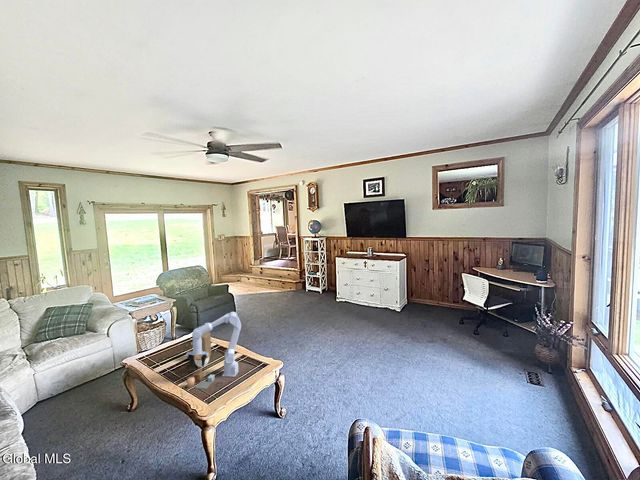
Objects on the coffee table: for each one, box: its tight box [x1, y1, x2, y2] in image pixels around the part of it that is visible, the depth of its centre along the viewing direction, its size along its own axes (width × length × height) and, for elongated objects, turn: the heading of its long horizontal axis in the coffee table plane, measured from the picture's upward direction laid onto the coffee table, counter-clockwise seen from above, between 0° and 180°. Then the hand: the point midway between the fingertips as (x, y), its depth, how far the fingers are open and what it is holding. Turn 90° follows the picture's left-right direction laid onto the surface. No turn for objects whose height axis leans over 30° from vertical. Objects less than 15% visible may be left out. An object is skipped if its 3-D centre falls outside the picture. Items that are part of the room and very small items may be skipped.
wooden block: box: [194, 331, 212, 362], centre depth 225 cm, size 10×10×20 cm
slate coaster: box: [194, 380, 213, 390], centre depth 188 cm, size 8×8×1 cm
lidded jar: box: [194, 353, 210, 368], centre depth 215 cm, size 11×11×9 cm
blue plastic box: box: [207, 374, 216, 383], centre depth 194 cm, size 3×4×3 cm
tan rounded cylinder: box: [186, 376, 196, 389], centre depth 187 cm, size 4×4×5 cm
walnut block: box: [192, 370, 205, 383], centre depth 194 cm, size 5×5×5 cm
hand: (197, 365), depth 195 cm, fingers open, 7 cm apart
